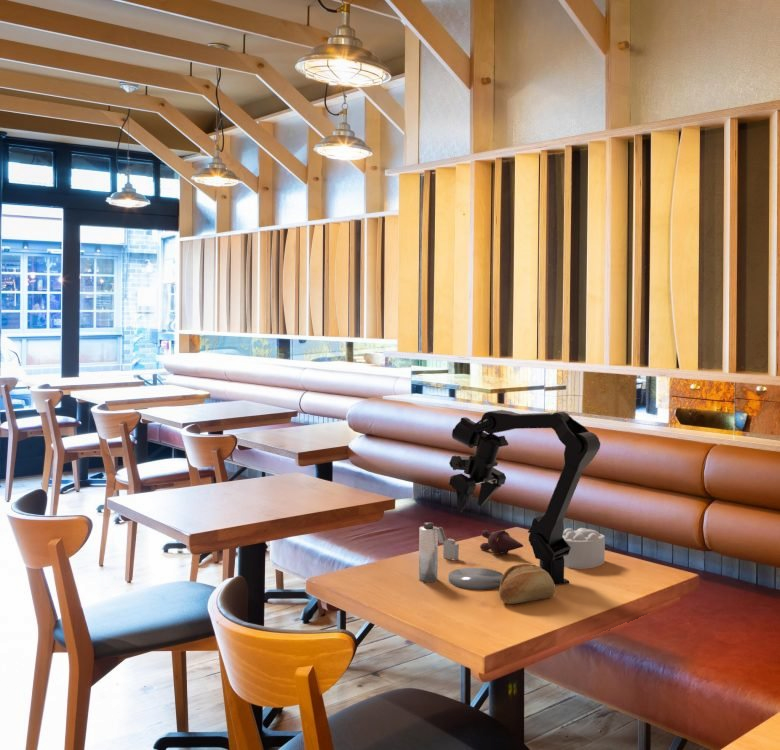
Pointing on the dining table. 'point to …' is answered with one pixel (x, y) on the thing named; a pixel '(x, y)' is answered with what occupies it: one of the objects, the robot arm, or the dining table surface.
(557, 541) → the robot arm
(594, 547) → the lumpy-topped squat cylinder
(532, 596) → the bread roll
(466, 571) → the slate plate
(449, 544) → the lighter
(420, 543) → the pepper mill
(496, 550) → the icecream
